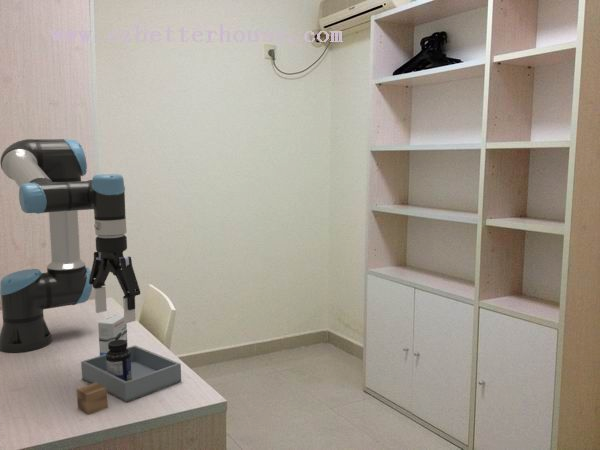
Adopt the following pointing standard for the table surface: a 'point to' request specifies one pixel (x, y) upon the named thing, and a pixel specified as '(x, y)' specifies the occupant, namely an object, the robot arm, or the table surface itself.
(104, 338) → the ink box
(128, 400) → the tote
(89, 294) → the robot arm
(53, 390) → the table surface
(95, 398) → the walnut cube
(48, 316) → the table surface
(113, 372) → the pill bottle
